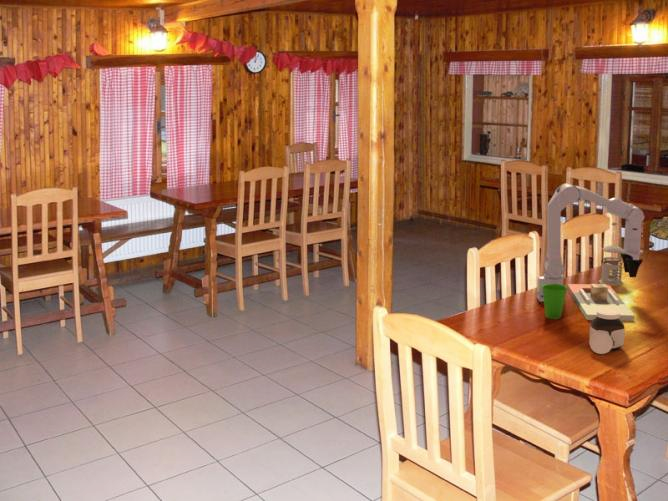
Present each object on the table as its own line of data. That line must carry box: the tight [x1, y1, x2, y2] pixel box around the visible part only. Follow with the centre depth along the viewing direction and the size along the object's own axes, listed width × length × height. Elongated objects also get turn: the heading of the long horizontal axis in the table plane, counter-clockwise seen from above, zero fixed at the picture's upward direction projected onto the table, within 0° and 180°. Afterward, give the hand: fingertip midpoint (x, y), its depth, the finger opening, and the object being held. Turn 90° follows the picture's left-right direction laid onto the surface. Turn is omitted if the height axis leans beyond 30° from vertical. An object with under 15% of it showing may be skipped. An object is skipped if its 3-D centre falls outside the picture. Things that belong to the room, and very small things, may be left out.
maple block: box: [591, 283, 608, 301], centre depth 309 cm, size 5×5×5 cm
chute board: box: [566, 283, 636, 322], centre depth 310 cm, size 16×42×4 cm, turn 174°
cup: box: [541, 284, 568, 320], centre depth 293 cm, size 9×9×11 cm
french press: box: [598, 221, 624, 286], centre depth 338 cm, size 10×12×25 cm
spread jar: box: [588, 309, 626, 355], centre depth 259 cm, size 12×11×12 cm
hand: (630, 274), depth 311 cm, fingers open, 7 cm apart
